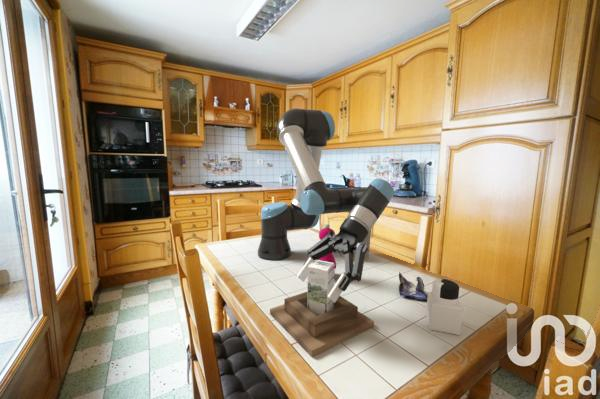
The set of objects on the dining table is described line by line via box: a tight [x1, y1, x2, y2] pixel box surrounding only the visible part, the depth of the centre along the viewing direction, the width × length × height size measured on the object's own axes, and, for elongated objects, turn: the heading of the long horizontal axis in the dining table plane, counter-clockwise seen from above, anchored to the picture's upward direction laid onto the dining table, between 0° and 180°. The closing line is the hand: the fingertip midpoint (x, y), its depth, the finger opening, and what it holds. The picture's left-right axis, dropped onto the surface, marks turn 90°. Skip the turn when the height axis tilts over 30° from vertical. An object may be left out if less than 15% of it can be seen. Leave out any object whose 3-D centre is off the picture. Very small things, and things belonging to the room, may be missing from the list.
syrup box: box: [307, 260, 336, 316], centre depth 72 cm, size 6×6×14 cm
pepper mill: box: [318, 223, 337, 278], centre depth 99 cm, size 7×7×20 cm
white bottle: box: [425, 278, 464, 336], centre depth 70 cm, size 7×7×12 cm
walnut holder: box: [269, 291, 375, 358], centre depth 73 cm, size 20×20×5 cm
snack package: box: [398, 271, 428, 302], centre depth 88 cm, size 12×6×12 cm
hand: (314, 288), depth 70 cm, fingers open, 13 cm apart
